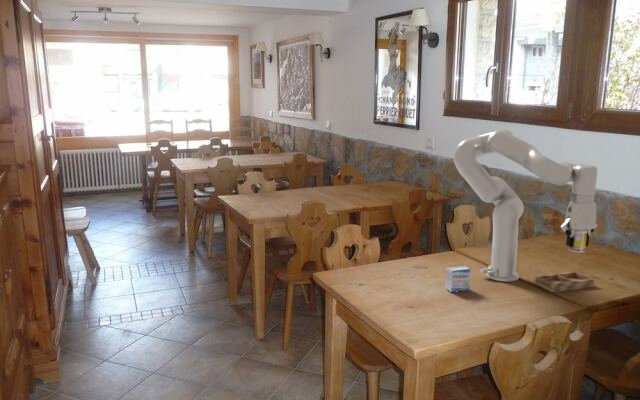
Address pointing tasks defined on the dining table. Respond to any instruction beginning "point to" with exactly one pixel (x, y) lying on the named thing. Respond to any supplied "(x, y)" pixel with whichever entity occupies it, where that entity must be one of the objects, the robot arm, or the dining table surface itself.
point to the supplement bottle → (579, 241)
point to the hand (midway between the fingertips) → (577, 245)
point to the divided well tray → (564, 281)
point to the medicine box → (457, 278)
